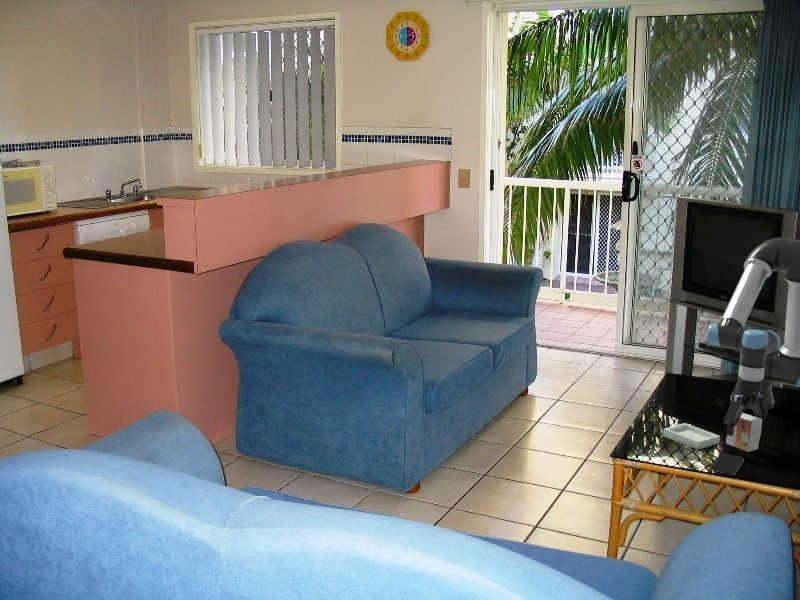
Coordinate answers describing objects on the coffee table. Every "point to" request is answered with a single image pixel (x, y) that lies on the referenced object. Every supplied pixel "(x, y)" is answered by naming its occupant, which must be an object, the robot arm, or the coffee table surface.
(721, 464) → the smartphone
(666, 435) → the tray
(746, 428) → the small box
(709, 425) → the coffee table surface
